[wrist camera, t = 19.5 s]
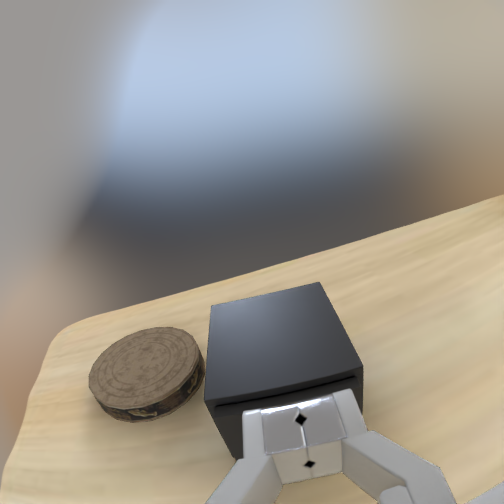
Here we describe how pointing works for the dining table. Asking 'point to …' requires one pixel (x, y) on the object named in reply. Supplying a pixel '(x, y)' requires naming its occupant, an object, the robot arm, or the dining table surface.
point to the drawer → (232, 412)
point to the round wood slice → (147, 374)
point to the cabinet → (276, 347)
